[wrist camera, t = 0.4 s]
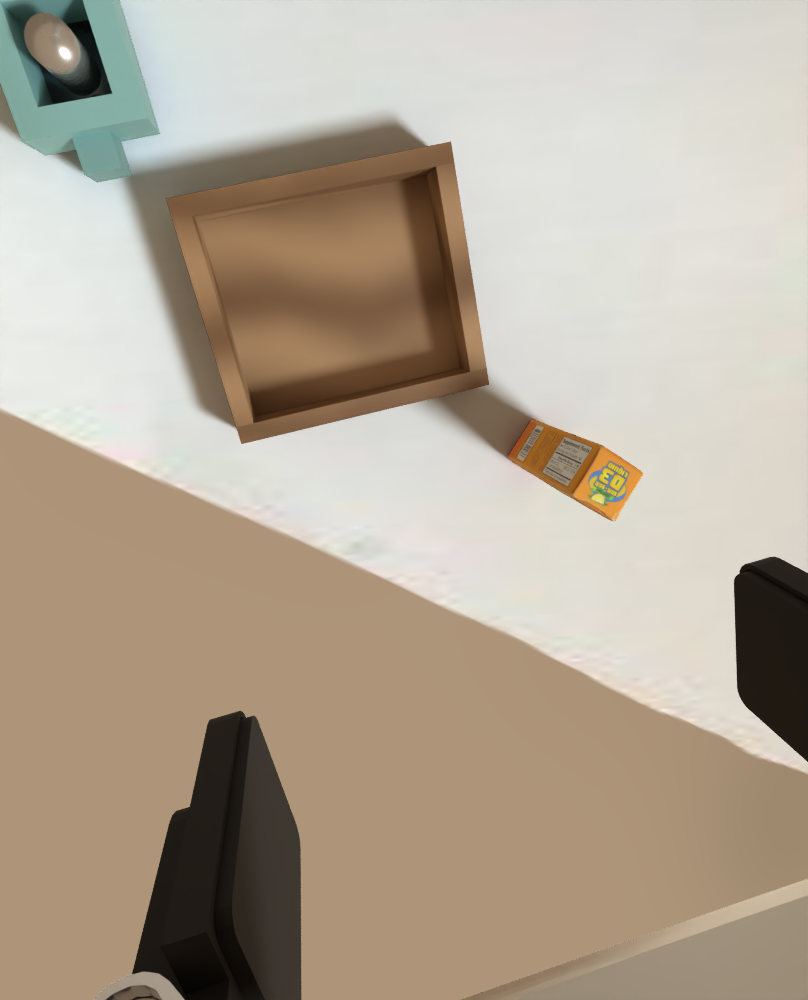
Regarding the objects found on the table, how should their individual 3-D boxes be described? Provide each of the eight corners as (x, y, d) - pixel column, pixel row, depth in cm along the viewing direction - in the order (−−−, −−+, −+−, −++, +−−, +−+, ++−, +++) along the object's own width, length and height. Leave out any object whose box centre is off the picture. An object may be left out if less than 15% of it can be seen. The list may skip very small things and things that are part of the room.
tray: (176, 207, 33) (165, 198, 30) (438, 154, 34) (450, 141, 32) (245, 433, 37) (241, 444, 35) (475, 378, 39) (489, 384, 36)
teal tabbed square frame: (-25, -37, 28) (-58, -73, 25) (102, -57, 28) (82, -94, 26) (58, 190, 31) (35, 179, 28) (170, 168, 32) (158, 155, 29)
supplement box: (569, 436, 41) (650, 475, 32) (541, 479, 42) (613, 529, 32) (532, 412, 40) (603, 445, 31) (503, 456, 41) (566, 501, 31)
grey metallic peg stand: (12, 27, 29) (-39, -23, 25) (118, 9, 30) (87, -43, 25) (54, 146, 31) (13, 119, 27) (154, 127, 32) (130, 97, 27)
